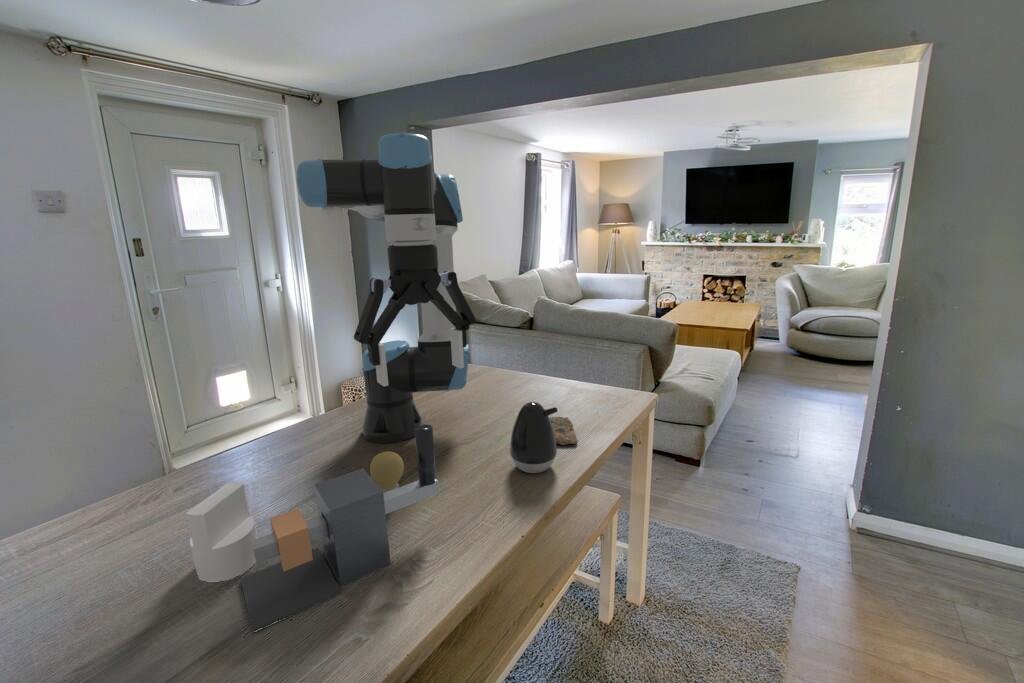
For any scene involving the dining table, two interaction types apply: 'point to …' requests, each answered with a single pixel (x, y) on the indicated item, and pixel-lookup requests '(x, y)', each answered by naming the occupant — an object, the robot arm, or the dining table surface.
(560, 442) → the rock
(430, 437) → the shaft
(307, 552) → the tan wooden block
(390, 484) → the light bulb
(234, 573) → the cylinder with rectangular tab
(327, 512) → the bearing block
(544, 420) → the pump dispenser
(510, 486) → the dining table surface
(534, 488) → the dining table surface
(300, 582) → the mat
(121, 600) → the dining table surface
